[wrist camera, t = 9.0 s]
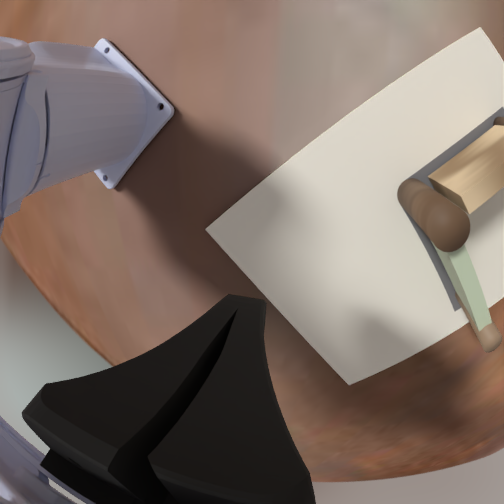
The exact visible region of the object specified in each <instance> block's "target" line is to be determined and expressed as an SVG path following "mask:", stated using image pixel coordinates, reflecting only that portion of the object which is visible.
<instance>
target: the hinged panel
mask: <svg viewBox="0 0 504 504" xmlns="http://www.w3.org/2000/svg"><path fill="white" fill-rule="evenodd" d="M431 242H432V241H431ZM432 244H433V242H432ZM433 245H434V244H433ZM434 247H435V249H436V251H437V253H438V255H439V257H440V259H441V261H442V263H443V265H444V267H445V269H446V271H447V273H448V276H449V278H450V280H451V282H452V284H453V286H454V289H455V291H456V292H455V297H456V299H457V301H458V303H459V304H460V306H461V308H462V310H463V311H464V313H465V315H466V317H467V319H468V320H469V322H470V324H471V326H472V328H473V330H474V332H475V334H476V335H477V337H478V339H479V341H480V343H481V345H482V347H483V350H484V351H485V352H492V351H494V350H495V349H496V348H497V347H498V346H499V345H500V344H501V342H502V335H501V334H500V332H499V330H498V329H497V327H496V325H495V324H494V322H493V320H492V319H491V317H490V314H489V310H488V307H487V304H486V300H485V297H484V294H483V291H482V288H481V285H480V283H479V280H478V277H477V274H476V272H475V269H474V266H473V264H472V261H471V259H470V256H469V254H468V252H467V249H466V247H465V245H463V246H462V247H461V248H459V249H458V250H456V251H453V252H443V251H441V250H439V249H438V248H437V247H436V246H435V245H434Z"/></svg>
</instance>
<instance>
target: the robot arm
mask: <svg viewBox="0 0 504 504" xmlns="http://www.w3.org/2000/svg"><path fill="white" fill-rule="evenodd" d="M109 49H110V50H109ZM108 50H109V52H108ZM162 103H163V105H164V108H163V110H161V109H160V105H161V104H162ZM173 115H174V108H173V106H172V105H171V104H170V103H169V102H168V101H167V100H166V99H165V98H164V97H163V95H162V94H161V93H160V92H159V91H158V90H157V89H156V88H155V87H154V86H153V85H152V84H151V83H150V82H149V81H148V80H147V79H146V78H145V77H144V76H143V75H142V74H141V73H140V72H139V71H138V70H137V68H136V67H135V66H134V65H133V64H132V63H131V62H130V61H129V60H128V59H127V58H126V57H125V56H124V55H123V54H122V53H121V52H120V51H119V50H118V49H117V48H116V47H115V46H114V45H113V44H112V43H111V42H110V41H109V40H107V39H104V38H103V39H100V40H99V41H98V43H97V44H96V45H95V47H94V48H93V47H87V46H80V45H73V44H65V43H55V42H44V41H39V42H32V43H29V44H28V43H26V42H24V41H22V40H18V39H14V38H8V37H0V236H1V234H2V230H3V226H4V218H5V217H7V216H9V215H11V214H13V213H15V212H17V211H19V210H20V206H21V202H22V200H23V198H24V197H26V196H29V195H31V194H33V193H36V192H38V191H40V190H43V189H45V188H48V187H50V186H53V185H56V184H58V183H61V182H64V181H66V180H69V179H72V178H75V177H77V176H80V175H83V174H86V173H89V172H92V171H94V172H95V173H96V175H97V176H98V177H99V178H100V180H101V181H102V182H103V184H104V185H105V186H106V187H107V188H108V189H112V188H114V187H116V185H117V184H118V182H119V181H120V180H121V178H122V177H123V176H124V174H125V173H126V172H127V170H128V169H129V168H130V166H131V165H132V164H133V163H134V161H135V160H136V159H137V157H138V156H139V155H140V154H141V152H142V151H143V150H144V149H145V148H146V146H147V145H148V144H149V143H150V142H151V140H152V139H153V138H154V137H155V136H156V134H157V133H158V132H159V131H160V130H161V129H162V128H163V126H164V125H165V124H166V123H167V122H168V121H169V120H170V119H171V117H172V116H173ZM106 175H107V177H108V180H107V179H106ZM265 315H266V302H265V301H264V300H261V299H255V298H248V297H242V296H236V295H231V294H228V295H227V296H226V297H224V298H223V299H222V300H221V301H219V302H218V303H217V304H216V305H215V306H213V307H212V308H211V309H210V310H209V311H207V312H206V313H205V314H204V315H202V316H201V317H200V318H198V319H197V320H196V321H194V322H193V323H192V324H190V325H189V326H188V327H186V328H185V329H184V330H182V331H181V332H179V333H178V334H176V335H175V336H173V337H172V338H170V339H169V340H167V341H165V342H164V343H162V344H160V345H159V346H157V347H155V348H153V349H152V350H150V351H148V352H146V353H144V354H142V355H140V356H138V357H135V358H133V359H131V360H128V361H126V362H124V363H121V364H119V365H117V366H114V367H111V368H109V369H106V370H103V371H100V372H97V373H93V374H90V375H87V376H83V377H79V378H74V379H70V380H64V381H59V382H54V383H47V384H45V385H44V386H43V387H42V389H41V390H40V391H39V392H38V393H37V395H36V396H35V397H34V398H33V399H32V401H31V402H30V403H29V404H28V405H27V407H26V408H25V409H24V410H23V412H22V417H23V419H24V421H25V422H26V423H27V425H28V426H29V427H30V428H31V429H32V430H33V431H34V432H35V433H36V435H38V437H40V439H41V440H42V441H43V442H44V443H45V444H46V445H47V446H48V447H49V448H50V450H49V452H48V453H47V455H46V456H45V455H44V454H43V453H41V452H40V451H39V450H37V448H35V447H34V446H33V445H32V444H30V443H29V442H28V441H27V440H26V439H24V438H23V437H22V436H21V435H20V434H19V433H18V432H17V431H16V430H14V429H13V428H12V427H11V426H10V425H9V424H8V423H7V422H6V421H5V420H4V419H3V418H2V417H1V416H0V504H77V503H75V502H74V501H72V500H71V499H69V498H68V497H66V496H64V495H63V494H61V493H60V492H58V491H57V490H56V489H54V488H53V487H51V486H50V485H49V479H48V478H50V479H51V480H53V481H54V482H55V483H56V484H58V485H59V486H61V487H62V488H64V489H65V490H66V491H68V492H69V493H71V494H72V495H74V496H75V497H77V498H78V499H80V500H81V501H83V502H85V503H86V504H316V502H315V495H314V490H313V486H312V482H311V477H310V473H309V471H308V469H307V467H306V465H305V464H304V462H303V460H302V458H301V456H300V454H299V452H298V450H297V448H296V446H295V444H294V442H293V440H292V437H291V435H290V433H289V431H288V428H287V426H286V423H285V421H284V418H283V415H282V413H281V410H280V407H279V405H278V402H277V398H276V395H275V392H274V389H273V385H272V381H271V377H270V373H269V369H268V364H267V358H266V352H265V345H264V326H265Z"/></svg>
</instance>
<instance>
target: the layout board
mask: <svg viewBox="0 0 504 504" xmlns="http://www.w3.org/2000/svg"><path fill="white" fill-rule="evenodd" d="M496 117H504V62H503V60H502V58H501V57H500V55H499V53H498V52H497V50H496V49H495V47H494V46H493V44H492V43H491V41H490V40H489V38H488V37H487V36H486V34H485V33H484V31H483V30H482V29H481V27H479V28H477V29H476V30H474V31H472V32H470V33H469V34H467V35H465V36H464V37H462V38H460V39H459V40H457V41H456V42H454V43H452V44H451V45H449V46H447V47H446V48H444V49H443V50H441V51H440V52H438V53H436V54H435V55H433V56H432V57H430V58H429V59H427V60H426V61H424V62H422V63H421V64H419V65H418V66H416V67H415V68H413V69H412V70H410V71H409V72H407V73H406V74H404V75H403V76H401V77H400V78H399V79H397V80H396V81H394V82H393V83H391V84H390V85H388V86H387V87H386V88H384V89H383V90H381V91H380V92H378V93H377V94H376V95H374V96H373V97H371V98H370V99H369V100H367V101H366V102H364V103H363V104H362V105H360V106H359V107H357V108H356V109H355V110H353V111H352V112H351V113H349V114H348V115H346V116H345V117H344V118H342V119H341V120H340V121H338V122H337V123H336V124H334V125H333V126H332V127H330V128H329V129H328V130H326V131H325V132H324V133H322V134H321V135H320V136H319V137H317V138H316V139H315V140H313V141H312V142H311V143H309V144H308V145H307V146H306V147H304V148H303V149H302V150H300V151H299V152H298V153H297V154H295V155H294V156H293V157H291V158H290V159H289V160H288V161H286V162H285V163H284V164H283V165H281V166H280V167H279V168H278V169H276V170H275V171H274V172H273V173H271V174H270V175H269V176H268V177H267V178H265V179H264V180H263V181H262V182H260V183H259V184H258V185H257V186H255V187H254V188H253V189H252V190H251V191H249V192H248V193H247V194H246V195H245V196H243V197H242V198H241V199H240V200H239V201H237V202H236V203H235V204H234V205H233V206H232V207H230V208H229V209H228V210H227V211H226V212H224V213H223V214H222V215H221V216H220V217H219V218H217V219H216V220H215V221H214V222H213V223H212V224H210V225H209V226H208V227H207V228H206V229H205V230H206V231H207V232H208V233H209V234H210V235H211V236H212V238H213V239H214V240H215V241H216V242H217V243H218V244H219V245H220V247H221V248H222V249H223V250H224V251H225V252H226V253H227V254H228V255H229V257H230V258H231V259H232V260H233V261H234V262H235V263H236V264H237V265H238V267H239V268H240V269H241V270H242V271H243V272H244V273H245V274H246V275H247V277H248V278H249V279H250V280H251V281H252V282H253V283H254V284H255V285H256V286H257V288H258V289H259V290H260V291H261V292H262V293H263V294H264V295H265V296H266V297H267V298H268V300H269V301H270V302H271V303H272V304H273V305H274V306H275V307H276V308H277V309H278V310H279V312H280V313H281V314H282V315H283V316H284V317H285V318H286V319H287V320H288V321H289V322H290V323H291V324H292V326H293V327H294V328H295V329H296V330H297V331H298V332H299V333H300V334H301V335H302V336H303V337H304V338H305V340H306V341H307V342H308V343H309V344H310V345H311V346H312V347H313V348H314V349H315V350H316V351H317V352H318V353H319V354H320V355H321V357H322V358H323V359H324V360H325V361H326V362H327V363H328V364H329V365H330V366H331V367H332V368H333V369H334V370H335V371H336V372H337V373H338V374H339V376H340V377H341V378H342V379H343V380H344V381H345V382H346V383H347V384H348V385H351V384H353V383H356V382H358V381H360V380H363V379H365V378H367V377H369V376H372V375H374V374H376V373H378V372H380V371H382V370H385V369H387V368H389V367H391V366H393V365H395V364H397V363H399V362H401V361H403V360H405V359H407V358H409V357H410V356H412V355H414V354H416V353H418V352H420V351H422V350H423V349H425V348H427V347H429V346H431V345H432V344H434V343H436V342H437V341H439V340H441V339H443V338H444V337H446V336H448V335H449V334H451V333H452V332H454V331H456V330H457V329H459V328H460V327H462V326H463V325H465V324H466V323H468V322H469V320H468V319H467V317H466V315H465V313H464V311H463V310H462V308H461V306H460V304H459V303H458V301H457V299H456V297H455V292H456V291H455V289H454V286H453V284H452V282H451V280H450V278H449V276H448V273H447V271H446V269H445V267H444V265H443V263H442V261H441V259H440V257H439V255H438V253H437V251H436V249H435V247H434V245H433V244H432V242H431V240H430V239H429V237H428V236H427V235H426V234H425V232H424V231H423V230H422V229H421V228H420V226H419V225H418V224H417V223H416V222H415V221H414V219H413V218H412V217H411V216H410V215H409V214H408V213H407V212H406V210H405V209H404V208H403V207H402V206H401V205H400V203H399V201H398V198H397V191H398V188H399V186H400V184H401V183H402V182H403V181H405V180H407V179H410V178H415V179H418V180H420V181H421V182H423V183H424V184H426V185H428V186H429V187H431V188H432V189H434V187H433V185H432V183H431V181H430V180H429V178H428V176H429V175H430V174H432V173H433V172H434V171H436V170H437V169H438V168H440V167H441V166H442V165H444V164H445V163H447V162H448V161H449V160H450V159H452V158H453V157H454V156H456V155H457V154H458V153H460V152H461V151H462V150H464V149H465V148H466V147H468V146H469V145H470V144H471V143H473V142H474V141H475V140H477V139H478V138H479V137H480V136H482V135H483V134H484V133H486V132H487V131H488V130H489V129H491V128H492V127H493V122H494V120H495V118H496ZM434 190H435V189H434ZM435 191H436V190H435ZM438 193H439V192H438ZM442 196H443V195H442ZM445 198H446V197H445ZM448 200H449V199H448ZM451 202H452V201H451ZM452 203H453V202H452ZM455 205H456V204H455ZM458 207H459V206H458ZM459 208H460V207H459ZM462 210H463V209H462ZM463 211H464V210H463ZM465 213H466V214H467V215H468V217H469V220H470V233H469V236H468V239H467V241H466V242H465V243H464V245H465V247H466V249H467V252H468V254H469V256H470V259H471V261H472V264H473V266H474V269H475V272H476V274H477V277H478V280H479V283H480V285H481V288H482V291H483V294H484V297H485V300H486V304H487V307H488V308H490V307H491V306H492V305H494V304H495V303H496V302H498V301H499V300H500V299H502V298H503V297H504V187H503V188H502V189H500V190H499V191H498V192H497V193H496V194H494V195H493V196H492V197H491V198H490V199H488V200H487V201H486V202H485V203H483V204H482V205H481V206H480V207H478V208H477V209H476V210H474V211H473V212H472V213H471V214H468V213H467V212H465Z"/></svg>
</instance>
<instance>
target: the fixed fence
mask: <svg viewBox="0 0 504 504" xmlns="http://www.w3.org/2000/svg"><path fill="white" fill-rule="evenodd" d="M428 178H429V180H430V181H431V183H432V185H433V187H434V189H435V190H436V191H435V190H434V189H432V188H431V187H429V186H428V185H426V184H424V183H423V182H421V181H420V180H418V179H415V178H410V179H407V180H405V181H403V182H402V183H401V184H400V186H399V188H398V191H397V198H398V201H399V203H400V205H401V206H402V207H403V208H404V209H405V210H406V212H407V213H408V214H409V215H410V216H411V217H412V218H413V219H414V221H415V222H416V223H417V224H418V225H419V226H420V228H421V229H422V230H423V231H424V232H425V234H426V235H427V236H428V237H429V239H430V240H431V241H432V242H433V244H434V245H435V246H436V247H437V248H438V249H439V250H441V251H443V252H453V251H456V250H458V249H459V248H461V247H462V246H463V245H464V243H465V242H466V241H467V239H468V236H469V233H470V220H469V217H468V215H467V214H466V213H465V212H467V213H468V214H471V213H472V212H473V211H474V210H476V209H477V208H478V207H480V206H481V205H482V204H483V203H485V202H486V201H487V200H488V199H490V198H491V197H492V196H493V195H494V194H496V193H497V192H498V191H499V190H500V189H502V188H503V187H504V117H496V118H495V120H494V122H493V127H492V128H491V129H489V130H488V131H487V132H486V133H484V134H483V135H482V136H480V137H479V138H478V139H477V140H475V141H474V142H473V143H471V144H470V145H469V146H468V147H466V148H465V149H464V150H462V151H461V152H460V153H458V154H457V155H456V156H454V157H453V158H452V159H450V160H449V161H448V162H447V163H445V164H444V165H442V166H441V167H440V168H438V169H437V170H436V171H434V172H433V173H432V174H430V175H429V176H428ZM438 192H439V193H438ZM442 195H443V196H442ZM445 197H446V198H445ZM448 199H449V200H448ZM451 201H452V202H453V203H452V202H451ZM455 204H456V205H455ZM458 206H459V207H460V208H459V207H458ZM462 209H463V210H464V211H463V210H462Z"/></svg>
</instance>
